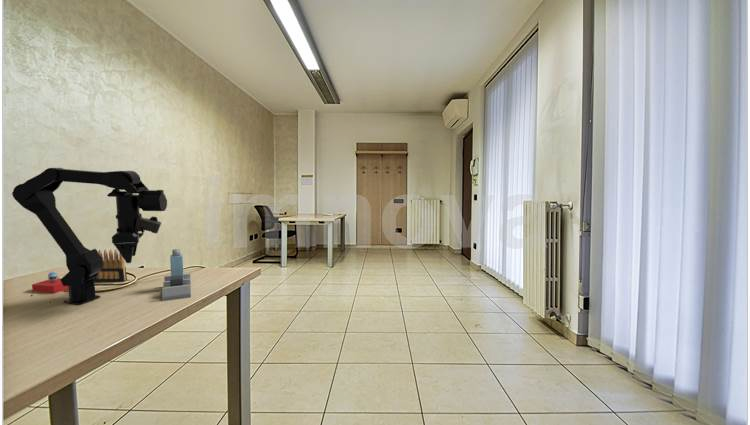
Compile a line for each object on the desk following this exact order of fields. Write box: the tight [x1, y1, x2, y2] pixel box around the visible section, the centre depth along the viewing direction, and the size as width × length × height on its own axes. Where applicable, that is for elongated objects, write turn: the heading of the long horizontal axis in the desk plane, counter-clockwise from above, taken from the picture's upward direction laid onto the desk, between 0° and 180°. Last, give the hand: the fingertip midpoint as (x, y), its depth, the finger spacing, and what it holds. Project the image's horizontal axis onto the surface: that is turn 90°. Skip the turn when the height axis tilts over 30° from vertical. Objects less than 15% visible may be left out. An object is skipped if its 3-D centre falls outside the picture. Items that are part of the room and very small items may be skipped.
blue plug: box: [169, 248, 184, 279], centre depth 118 cm, size 4×4×13 cm
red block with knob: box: [31, 271, 68, 295], centre depth 114 cm, size 8×7×6 cm
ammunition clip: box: [93, 249, 128, 283], centre depth 123 cm, size 11×2×12 cm, turn 98°
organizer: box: [161, 273, 192, 302], centre depth 116 cm, size 8×14×6 cm, turn 29°
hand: (131, 259), depth 108 cm, fingers open, 9 cm apart
